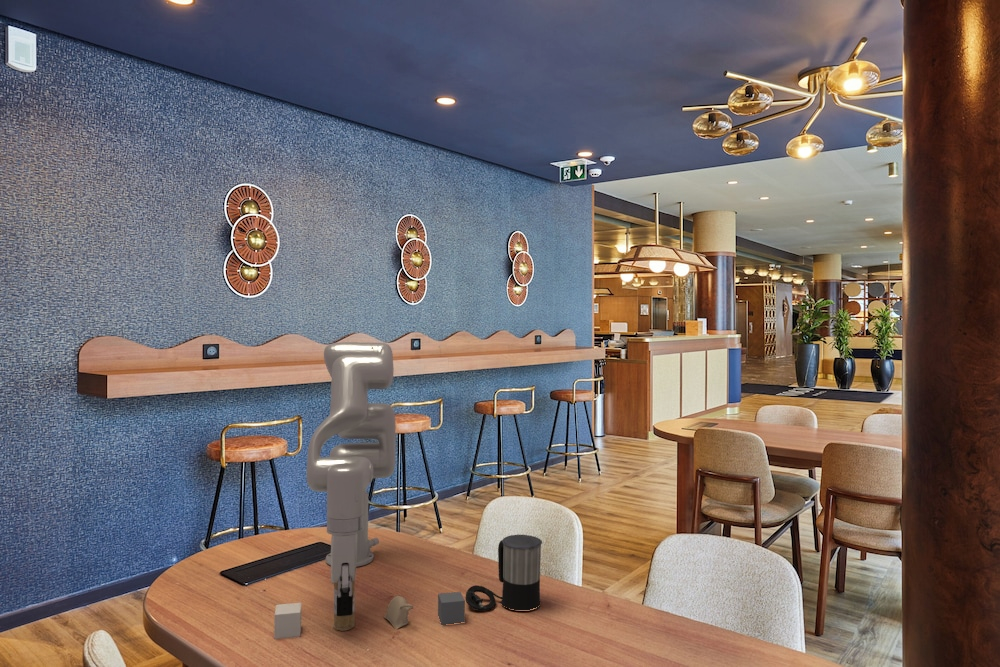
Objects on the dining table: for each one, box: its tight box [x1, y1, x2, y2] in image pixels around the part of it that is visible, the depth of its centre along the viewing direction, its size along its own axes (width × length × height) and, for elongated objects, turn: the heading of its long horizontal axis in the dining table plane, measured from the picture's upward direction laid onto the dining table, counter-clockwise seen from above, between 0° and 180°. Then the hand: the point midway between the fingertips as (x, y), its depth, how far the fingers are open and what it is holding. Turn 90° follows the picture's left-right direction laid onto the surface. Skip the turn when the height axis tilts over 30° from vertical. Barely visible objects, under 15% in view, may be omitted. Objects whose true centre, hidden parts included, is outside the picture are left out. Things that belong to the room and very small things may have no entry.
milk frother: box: [464, 533, 543, 612], centre depth 153 cm, size 14×16×15 cm
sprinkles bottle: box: [333, 563, 356, 632], centre depth 141 cm, size 5×5×14 cm
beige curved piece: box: [384, 595, 414, 630], centre depth 143 cm, size 4×8×5 cm, turn 29°
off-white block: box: [273, 602, 302, 640], centre depth 138 cm, size 5×5×5 cm
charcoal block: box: [437, 591, 466, 626], centre depth 145 cm, size 5×5×5 cm
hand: (344, 607), depth 141 cm, fingers open, 6 cm apart
